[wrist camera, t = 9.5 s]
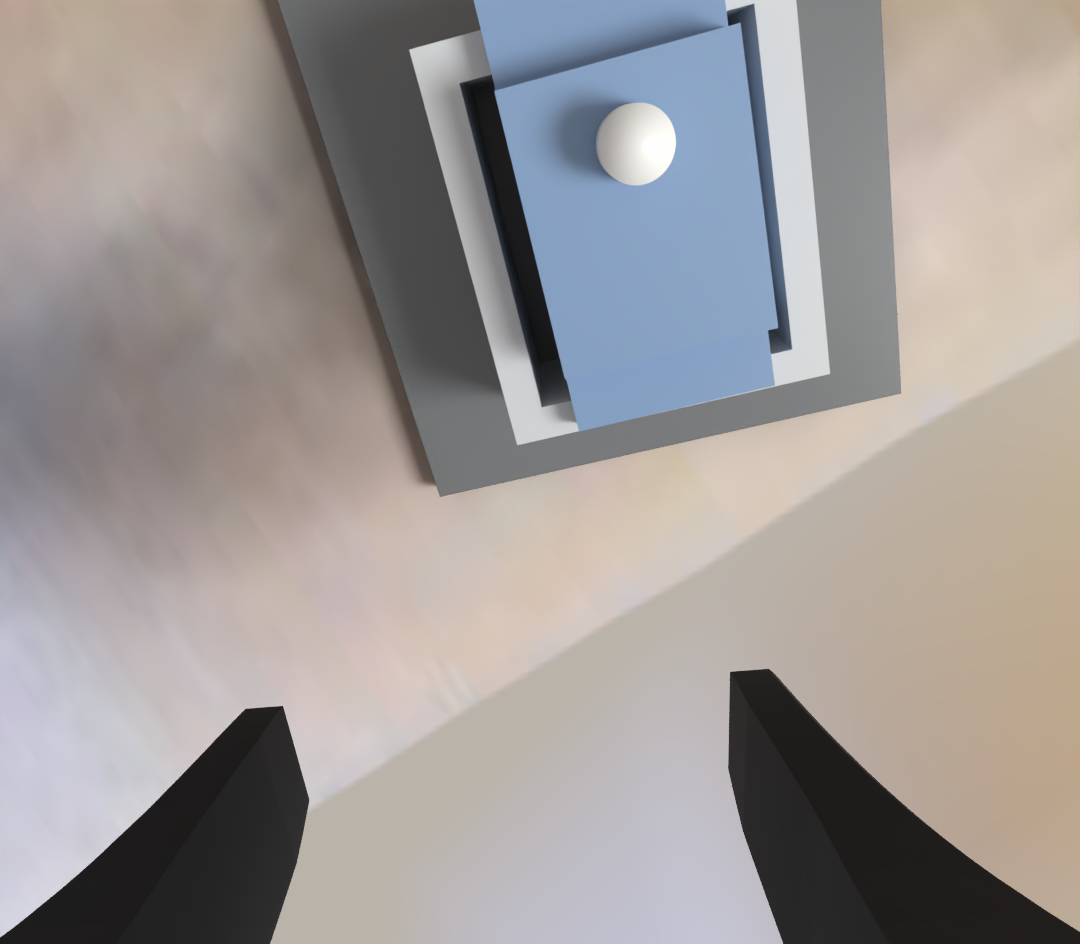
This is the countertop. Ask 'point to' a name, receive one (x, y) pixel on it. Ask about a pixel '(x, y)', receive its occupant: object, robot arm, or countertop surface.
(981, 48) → the countertop surface
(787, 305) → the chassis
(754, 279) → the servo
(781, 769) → the robot arm
